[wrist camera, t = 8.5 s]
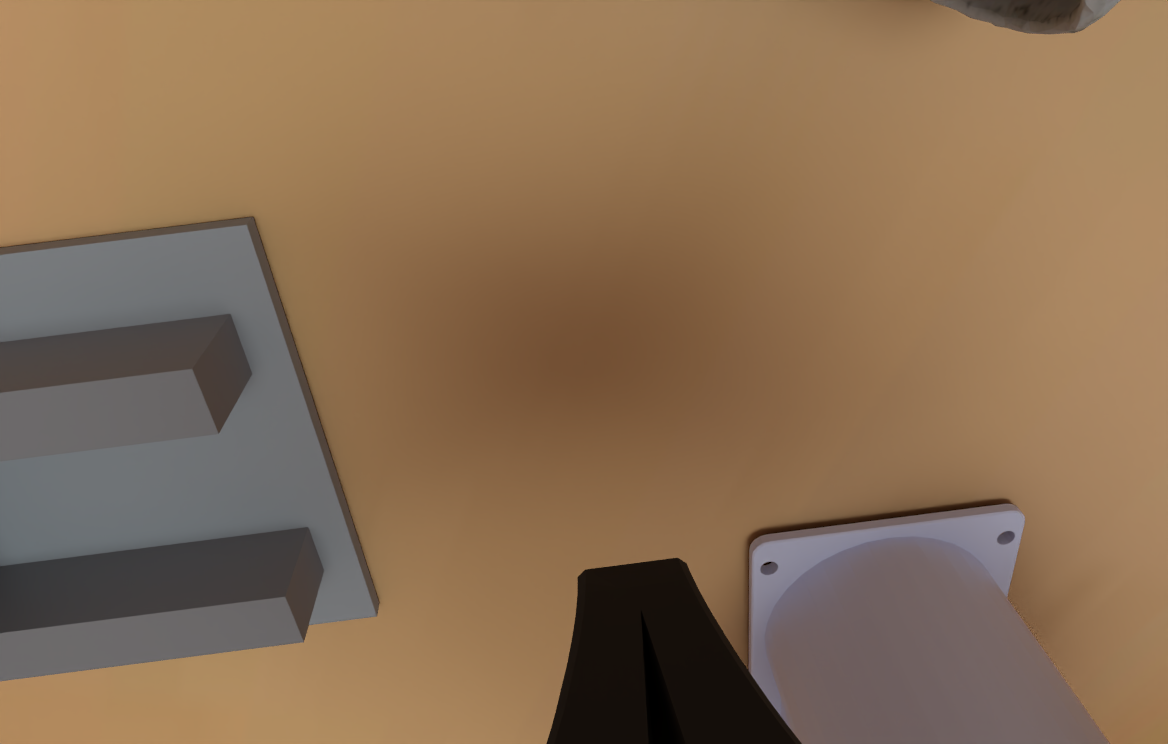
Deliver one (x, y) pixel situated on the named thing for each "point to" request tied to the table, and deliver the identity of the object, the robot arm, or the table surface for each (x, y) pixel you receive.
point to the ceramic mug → (1034, 13)
